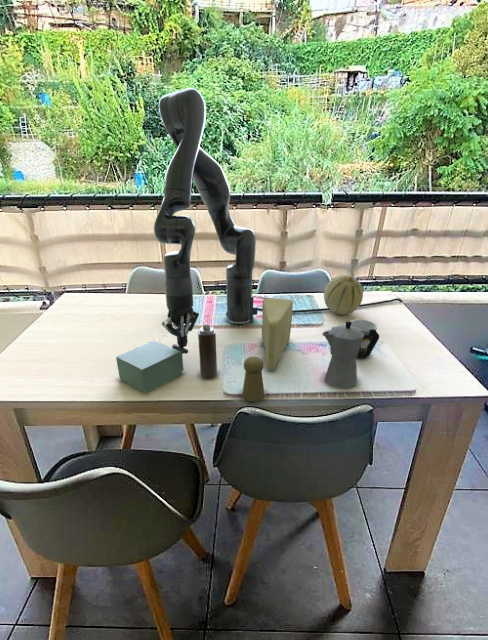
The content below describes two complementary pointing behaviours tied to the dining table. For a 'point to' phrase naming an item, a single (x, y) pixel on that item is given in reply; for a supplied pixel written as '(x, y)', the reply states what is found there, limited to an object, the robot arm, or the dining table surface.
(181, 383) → the dining table surface
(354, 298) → the cantaloupe
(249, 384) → the olive rounded tall piece
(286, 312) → the cheese
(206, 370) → the pepper mill
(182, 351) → the drawer
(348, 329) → the coffeepot
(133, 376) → the cabinet
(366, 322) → the coffee mug
